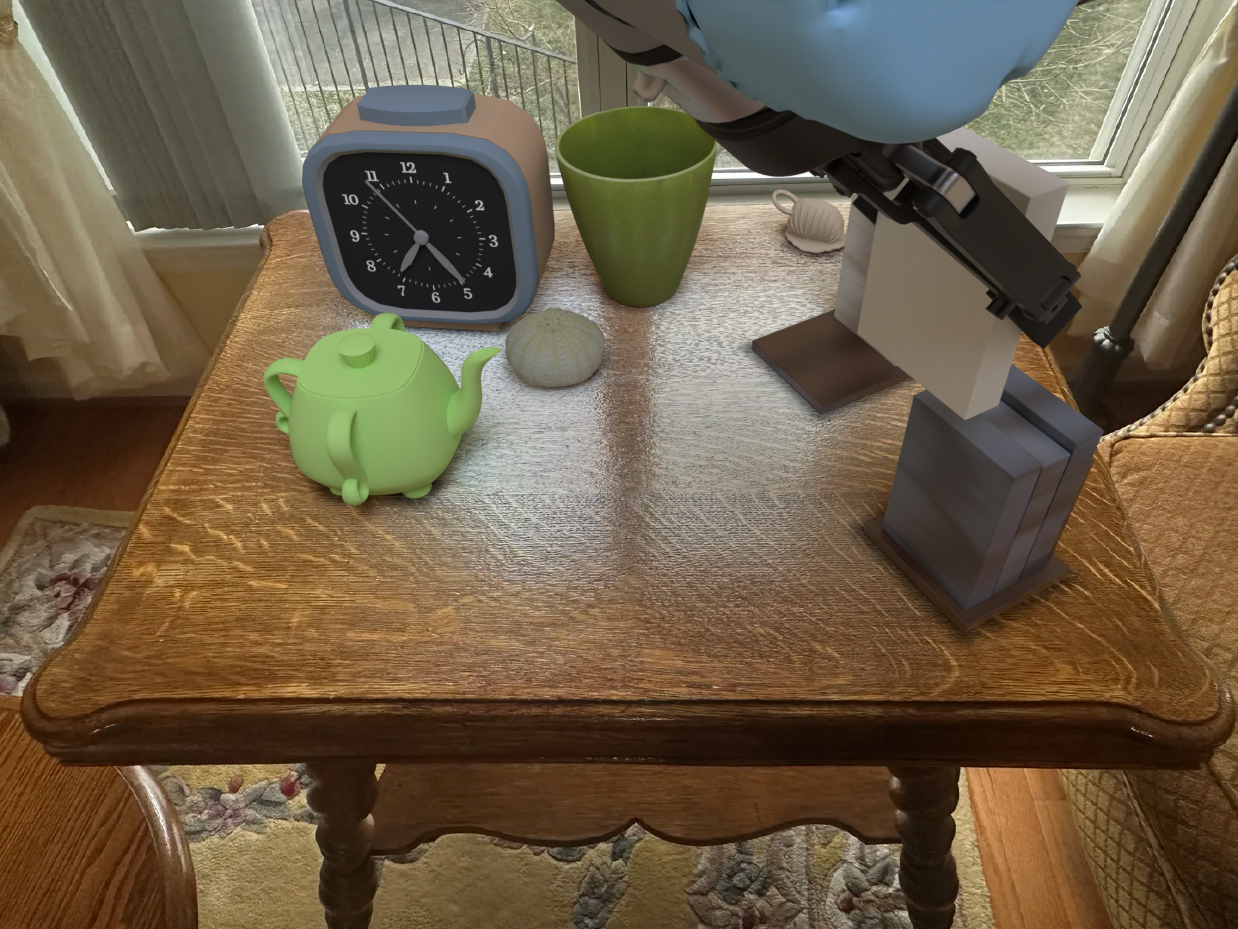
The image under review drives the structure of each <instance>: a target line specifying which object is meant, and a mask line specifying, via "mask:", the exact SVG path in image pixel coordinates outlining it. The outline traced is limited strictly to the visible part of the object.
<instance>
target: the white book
mask: <svg viewBox="0 0 1238 929" xmlns="http://www.w3.org/2000/svg"><path fill="white" fill-rule="evenodd" d="M936 138H937V139H938V140H939V141H940V142H941V143H942V144H943V145H944V146H946V147H947V148H948V149H949V150H950V151H951V152H953V151H954V150H955V148H957V147H958V148H963V149H965V150H969V151H971V152H972V153H974V154H975V155H976V156H977V160H978V161H979V162H980V164H981V165H982V166H983V168H984V169H985V171H986V172H987V174H988V175H989V177H990V178H991V180H992V181H993V183H994V184H995V185H996V186H997V187H998V188H999V189H1000V190H1001V192H1002V193H1003V194H1004V195H1005V196H1006V197H1007V198H1008V199H1009V200H1010V201H1011V202H1012V203H1013V204H1014V205H1015V206H1016V207H1017V208H1018V209H1019V210H1020V211H1021V213H1022V214H1023V215H1024V216H1025V217H1026V218H1027V219H1028V220H1029V221H1030V222H1031V223H1032V224H1033V225H1034V226H1035V227H1036V228H1037V229H1038V230H1039V231H1040V232H1041V233H1042V235H1043V236H1044V237H1045V238H1046V239H1047V240H1048V241H1049V242H1050V243H1051V244H1052V240H1053V237H1054V233H1055V229H1056V227H1057V223H1058V220H1059V218H1060V215H1061V211H1062V209H1063V205H1064V202H1065V200H1066V199H1065V198H1066V196H1067V193H1068V189H1069V186H1070V182H1069V181H1067V180H1066V179H1064V178H1062V177H1060V176H1058V175H1056V174H1054V173H1052V172H1050V171H1048V170H1046V169H1044V168H1043V167H1042V166H1041V167H1040V166H1038V165H1037V164H1035V163H1033V162H1031V161H1029V160H1027V159H1025V158H1024V157H1023V156H1022V157H1021V156H1020V155H1018V154H1016V153H1013V151H1010V150H1009V149H1006V148H1004V147H1002V146H1001V145H999V144H997V143H995V142H993V141H991V140H989V139H988V138H985V137H983V136H982V135H980V134H978V133H976V132H974V131H972V130H970V129H969V128H966V127H964V126H963V127H961V128H959V129H956V130H954V131H952V132H950V133H947V134H944V135H941V136H939V137H936ZM922 152H923V151H922ZM908 181H909V179H908V178H907V177H906V178H905V179H904V180H903V182H902V183H901V184H900V185H899V187H898V188H896V189H895V190H893V191H890V192H884V195H885V196H886V197H887V198H889V199H890V200H892V199H894V198H895V197H896V195H897V194H898V193H899V192H900V190H901V189H902V188H903V187H904V186H905V184H906V183H907V182H908ZM988 290H989V288H988V287H986V286H985V285H984V284H983V283H982V282H981V281H979V280H978V279H977V278H976V277H975V276H974V275H972V274H971V273H970V272H969V271H968V270H967V269H965V268H964V267H963V266H962V265H961V264H960V263H958V262H957V261H956V260H955V259H954V258H952V257H951V256H950V255H949V254H948V253H947V252H945V251H944V250H943V249H942V248H941V247H940V246H938V245H937V244H936V243H935V242H934V241H933V240H931V239H930V238H929V237H928V236H927V235H926V234H924V233H923V232H922V231H921V230H920V229H919V228H917V227H916V226H915V225H914V224H913V223H912V222H911V223H909V224H906V225H901V224H899V223H897V222H895V221H893V220H891V219H889V218H887V217H885V216H884V215H883V214H882V213H881V212H879V211H878V213H877V219H876V225H875V231H874V237H873V243H872V249H871V255H870V261H869V266H868V272H867V278H866V284H865V290H864V296H863V302H862V308H861V314H860V320H859V325H858V331H857V333H858V334H859V335H860V336H861V337H862V338H863V339H865V340H866V341H867V342H868V343H870V344H871V345H872V346H873V347H875V348H876V349H877V350H878V351H880V352H881V353H882V354H883V355H885V356H886V357H887V358H888V359H890V360H891V361H892V362H893V363H894V364H896V365H897V366H898V367H899V368H901V369H902V370H903V371H904V372H906V373H907V374H908V375H909V376H911V377H910V378H912V379H913V380H914V381H916V383H918V384H919V385H920V386H922V387H923V388H924V390H926V389H927V390H928V391H929V392H930V393H932V394H933V395H934V396H935V397H937V398H938V399H939V400H940V401H942V402H943V403H944V404H945V405H947V406H948V407H949V408H950V409H952V410H953V411H954V412H955V413H956V414H958V415H959V416H960V417H961V418H963V419H964V420H967V419H969V418H971V417H973V416H976V415H978V414H980V413H982V412H985V411H987V410H989V409H991V408H993V407H996V406H998V404H999V402H1000V398H1001V395H1002V392H1003V389H1004V386H1005V383H1006V380H1007V377H1008V374H1009V370H1010V367H1011V364H1013V360H1014V358H1015V356H1016V355H1015V354H1016V352H1017V349H1018V345H1019V342H1020V339H1021V336H1022V333H1023V331H1022V330H1021V329H1020V328H1019V327H1018V326H1017V325H1016V324H1015V323H1014V322H1013V321H1012V320H1011V319H1010V318H1009V317H1008V316H1006V317H1005V318H1004V319H1003V320H1000V319H998V318H997V317H995V316H994V315H993V314H991V313H990V312H989V311H987V310H986V309H985V308H986V307H987V306H988V305H989V304H990V303H991V302H992V300H991V298H990V297H989V296H988V295H987V294H986V292H987V291H988Z"/></svg>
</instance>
